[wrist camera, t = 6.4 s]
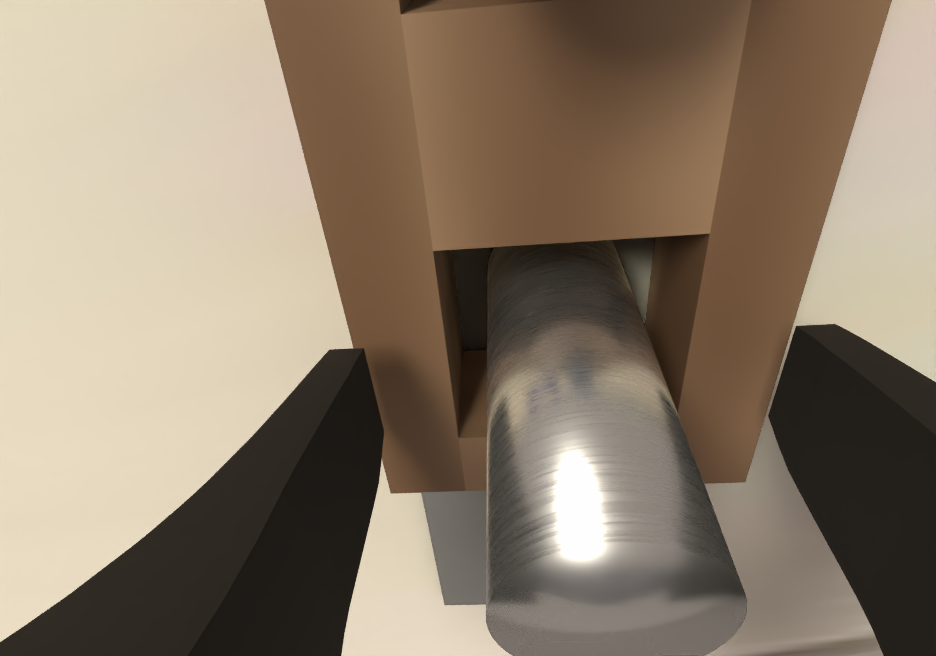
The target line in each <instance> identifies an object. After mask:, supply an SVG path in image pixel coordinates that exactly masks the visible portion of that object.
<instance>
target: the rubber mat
mask: <svg viewBox="0 0 936 656" xmlns="http://www.w3.org/2000/svg"><path fill="white" fill-rule="evenodd" d="M421 493H422V498H423V503H424V508H425V512H426V517H427V522H428V527H429V532H430V537H431V541H432V546H433V551H434V556H435V561H436V565H437V570H438V575H439V580H440V585H441V590H442V594H443V599H444V604H445V605H479V604H486V528H487V490H482V491H451V492H421Z"/></svg>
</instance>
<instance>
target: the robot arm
mask: <svg viewBox="0 0 936 656" xmlns="http://www.w3.org/2000/svg"><path fill="white" fill-rule="evenodd" d="M768 417H769V420H770V422H771V425H772V428H773V431H774V434H775V437H776V440H777V442H778V445H779V448H780V450H781V453H782V455H783V458H784V461H785V463H786V466H787V468H788V471H789V473H790V474H791V476H792V478H793V480H794V482H795V484H796V486H797V488H798V490H799V492H800V493H801V495H802V497H803V499H804V501H805V503H806V505H807V507H808V508H809V510H810V512H811V514H812V516H813V518H814V520H815V521H816V523H817V525H818V527H819V529H820V531H821V532H822V534H823V536H824V538H825V540H826V541H827V543H828V545H829V547H830V549H831V551H832V552H833V554H834V556H835V558H836V560H837V562H838V563H839V565H840V567H841V569H842V571H843V573H844V574H845V576H846V578H847V580H848V582H849V584H850V585H851V587H852V589H853V591H854V593H855V595H856V596H857V598H858V600H859V602H860V604H861V606H862V609H863V611H864V613H865V615H866V617H867V619H868V621H869V623H870V625H871V627H872V629H873V631H874V634H875V636H876V638H877V641H878V643H879V645H880V648H881V650H882V653H883V655H884V656H936V382H934V381H933V380H931V379H929V378H928V377H926V376H924V375H923V374H921V373H919V372H918V371H916V370H914V369H913V368H911V367H909V366H908V365H906V364H904V363H903V362H901V361H899V360H898V359H896V358H894V357H893V356H891V355H889V354H888V353H886V352H884V351H883V350H881V349H879V348H877V347H876V346H874V345H872V344H871V343H869V342H867V341H866V340H864V339H862V338H860V337H859V336H857V335H855V334H853V333H851V332H849V331H848V330H846V329H844V328H842V327H840V326H838V325H836V324H827V325H807V326H796V328H795V331H794V334H793V338H792V341H791V344H790V347H789V351H788V354H787V357H786V360H785V364H784V367H783V370H782V373H781V377H780V380H779V383H778V386H777V390H776V393H775V396H774V399H773V403H772V406H771V409H770V412H769V415H768ZM383 439H384V428H383V424H382V420H381V416H380V412H379V408H378V404H377V400H376V396H375V391H374V387H373V383H372V379H371V375H370V371H369V367H368V363H367V359H366V354H365V350H364V348H354V349H334V350H329V351H328V352H327V353H326V354H325V355H324V357H323V358H322V359H321V360H320V361H319V362H318V363H317V364H316V365H315V366H314V368H313V369H312V370H311V371H310V372H309V373H308V374H307V376H306V377H305V378H304V379H303V380H302V381H301V383H300V384H299V385H298V386H297V387H296V388H295V389H294V391H293V392H292V393H291V394H290V395H289V396H288V397H287V399H286V400H285V401H284V402H283V403H282V404H281V405H280V406H279V408H278V409H277V410H276V411H275V412H274V413H273V414H272V415H271V416H270V417H269V419H268V420H267V421H266V422H265V423H264V424H263V425H262V426H261V427H260V428H259V429H258V431H257V432H256V433H255V434H254V435H253V436H252V437H251V438H250V439H249V440H248V441H247V442H246V443H245V444H244V445H243V446H242V447H241V448H240V449H239V450H238V451H237V452H236V453H235V454H234V455H233V456H232V457H231V458H230V459H229V460H228V461H227V462H226V463H225V464H224V465H223V466H222V467H221V468H220V469H219V470H218V471H217V472H216V473H215V474H214V475H213V476H212V477H211V478H210V479H209V480H208V481H207V482H206V483H205V484H204V485H203V486H202V487H201V488H200V489H199V490H198V491H197V492H196V493H194V494H193V495H192V496H191V497H190V498H189V499H188V500H187V501H186V502H184V503H183V504H182V505H181V506H180V507H179V508H178V509H176V510H175V511H174V512H173V513H172V514H171V515H169V516H168V517H167V518H166V519H165V520H164V521H162V522H161V523H160V524H159V525H158V526H157V527H155V528H154V529H153V530H152V531H151V532H150V533H148V534H147V535H146V536H145V537H143V538H142V539H141V540H140V541H139V542H137V543H136V544H135V545H134V546H132V547H131V548H130V549H128V550H127V551H126V552H124V553H123V554H122V555H120V556H119V557H118V558H117V559H115V560H114V561H113V562H111V563H110V564H109V565H107V566H106V567H105V568H103V569H102V570H101V571H100V572H98V573H97V574H96V575H94V576H93V577H92V578H90V579H89V580H88V581H86V582H85V583H84V584H83V585H81V586H80V587H79V588H77V589H76V590H75V591H73V592H72V593H71V594H69V595H68V596H67V597H65V598H64V599H62V600H61V601H60V602H58V603H57V604H55V605H54V606H52V607H51V608H50V609H48V610H47V611H45V612H44V613H42V614H41V615H40V616H38V617H37V618H35V619H34V620H32V621H31V622H30V623H28V624H27V625H25V626H24V627H22V628H21V629H19V630H18V631H16V632H15V633H13V634H12V635H10V636H9V637H7V638H6V639H4V640H3V641H1V642H0V656H341V653H342V646H343V639H344V632H345V627H346V622H347V617H348V612H349V607H350V603H351V598H352V594H353V590H354V586H355V582H356V577H357V573H358V569H359V565H360V561H361V557H362V552H363V548H364V544H365V540H366V536H367V532H368V527H369V523H370V519H371V515H372V510H373V506H374V502H375V497H376V493H377V488H378V484H379V476H380V467H381V459H382V449H383Z"/></svg>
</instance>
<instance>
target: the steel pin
mask: <svg viewBox="0 0 936 656" xmlns="http://www.w3.org/2000/svg"><path fill="white" fill-rule="evenodd" d="M746 611H747V599H746V596H745V592H744V589H743V587H742V584H741V581H740V579H739V576H738V573H737V571H736V568H735V565H734V563H733V560H732V557H731V555H730V552H729V549H728V547H727V544H726V541H725V539H724V536H723V533H722V531H721V528H720V525H719V523H718V520H717V517H716V515H715V512H714V509H713V507H712V504H711V501H710V499H709V496H708V493H707V491H706V488H705V485H704V483H703V480H702V477H701V475H700V472H699V469H698V467H697V464H696V461H695V459H694V456H693V453H692V450H691V448H690V445H689V442H688V440H687V437H686V434H685V432H684V429H683V426H682V424H681V421H680V418H679V416H678V413H677V410H676V408H675V405H674V402H673V400H672V397H671V394H670V392H669V389H668V386H667V384H666V381H665V378H664V376H663V373H662V370H661V368H660V365H659V362H658V360H657V357H656V354H655V352H654V349H653V346H652V344H651V341H650V338H649V336H648V333H647V330H646V328H645V325H644V322H643V320H642V317H641V314H640V312H639V309H638V306H637V304H636V301H635V298H634V296H633V293H632V290H631V288H630V285H629V282H628V280H627V277H626V274H625V272H624V269H623V266H622V264H621V261H620V258H619V256H618V253H617V250H616V248H615V245H614V243H613V241H612V240H600V241H584V242H568V243H552V244H536V245H520V246H504V247H494V248H493V251H492V253H491V255H490V258H489V262H488V269H487V528H486V623H487V627H488V630H489V632H490V634H491V636H492V637H493V639H494V640H495V641H496V642H497V644H498V645H499V646H501V647H502V648H503V649H504V650H505V651H506V652H508V653H509V654H511V655H513V656H705V655H706V654H708V653H710V652H712V651H714V650H715V649H717V648H718V647H720V646H721V645H722V644H724V643H725V642H726V641H728V640H729V639H730V638H731V637H732V636H733V635H734V634H735V633H736V631H737V630H738V629H739V628H740V626H741V624H742V622H743V620H744V619H745V615H746Z"/></svg>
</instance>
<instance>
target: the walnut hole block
mask: <svg viewBox="0 0 936 656" xmlns="http://www.w3.org/2000/svg"><path fill="white" fill-rule="evenodd" d="M264 1H265V5H266V9H267V12H268V16H269V20H270V24H271V28H272V32H273V36H274V40H275V44H276V48H277V51H278V55H279V59H280V63H281V67H282V71H283V75H284V79H285V83H286V86H287V90H288V94H289V98H290V102H291V106H292V110H293V114H294V118H295V122H296V125H297V129H298V133H299V137H300V141H301V145H302V149H303V153H304V157H305V161H306V164H307V168H308V172H309V176H310V180H311V184H312V188H313V192H314V196H315V200H316V203H317V207H318V211H319V215H320V219H321V223H322V227H323V231H324V235H325V239H326V242H327V246H328V250H329V254H330V258H331V262H332V266H333V270H334V274H335V277H336V281H337V285H338V289H339V293H340V297H341V301H342V305H343V309H344V313H345V316H346V320H347V324H348V328H349V332H350V336H351V340H352V344H353V348H364V350H365V354H366V359H367V363H368V367H369V371H370V375H371V379H372V383H373V387H374V391H375V396H376V400H377V404H378V408H379V412H380V416H381V420H382V424H383V428H384V439H383V449H382V461H383V465H384V468H385V472H386V476H387V480H388V484H389V488H390V492H391V493H419V492H451V491H482V490H487V350H471V351H463V343H462V334H461V325H460V317H459V308H458V299H457V291H456V282H455V273H454V264H453V256H452V250H457V249H473V248H488V247H504V246H520V245H536V244H552V243H568V242H584V241H600V240H616V239H632V238H648V237H655V244H654V253H653V261H652V270H651V278H650V287H649V295H648V304H647V312H646V321H645V328H646V330H647V333H648V336H649V338H650V341H651V344H652V346H653V349H654V352H655V354H656V357H657V360H658V362H659V365H660V368H661V370H662V373H663V376H664V378H665V381H666V384H667V386H668V389H669V392H670V394H671V397H672V400H673V402H674V405H675V408H676V410H677V413H678V416H679V418H680V421H681V424H682V426H683V429H684V432H685V434H686V437H687V440H688V442H689V445H690V448H691V450H692V453H693V456H694V459H695V461H696V464H697V467H698V469H699V472H700V475H701V477H702V480H703V483H734V482H745V481H746V478H747V474H748V471H749V468H750V465H751V461H752V458H753V455H754V451H755V448H756V445H757V442H758V438H759V435H760V432H761V428H762V425H763V422H764V419H765V415H766V412H767V409H768V405H769V402H770V399H771V396H772V392H773V389H774V386H775V382H776V379H777V376H778V373H779V369H780V366H781V363H782V359H783V356H784V353H785V350H786V346H787V343H788V340H789V336H790V333H791V330H792V327H793V323H794V320H795V317H796V313H797V310H798V307H799V304H800V300H801V297H802V294H803V290H804V287H805V284H806V281H807V277H808V274H809V271H810V267H811V264H812V261H813V257H814V254H815V251H816V248H817V244H818V241H819V238H820V234H821V231H822V228H823V225H824V221H825V218H826V215H827V211H828V208H829V205H830V202H831V198H832V195H833V192H834V188H835V185H836V182H837V179H838V175H839V172H840V169H841V165H842V162H843V159H844V156H845V152H846V149H847V146H848V142H849V139H850V136H851V133H852V129H853V126H854V123H855V119H856V116H857V113H858V110H859V106H860V103H861V100H862V96H863V93H864V90H865V87H866V83H867V80H868V77H869V73H870V70H871V67H872V64H873V60H874V57H875V54H876V50H877V47H878V44H879V41H880V37H881V34H882V31H883V27H884V24H885V21H886V18H887V14H888V11H889V8H890V4H891V1H892V0H264Z"/></svg>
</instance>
